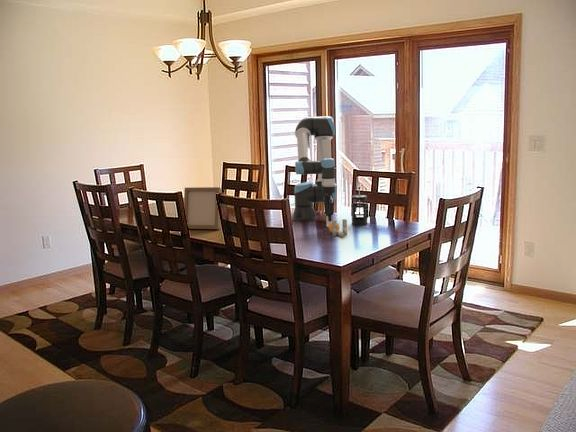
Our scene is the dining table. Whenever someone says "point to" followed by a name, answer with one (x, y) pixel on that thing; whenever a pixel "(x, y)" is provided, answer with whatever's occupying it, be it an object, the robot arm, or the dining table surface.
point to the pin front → (340, 234)
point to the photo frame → (202, 207)
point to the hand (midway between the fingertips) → (329, 226)
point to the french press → (356, 205)
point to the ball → (331, 227)
